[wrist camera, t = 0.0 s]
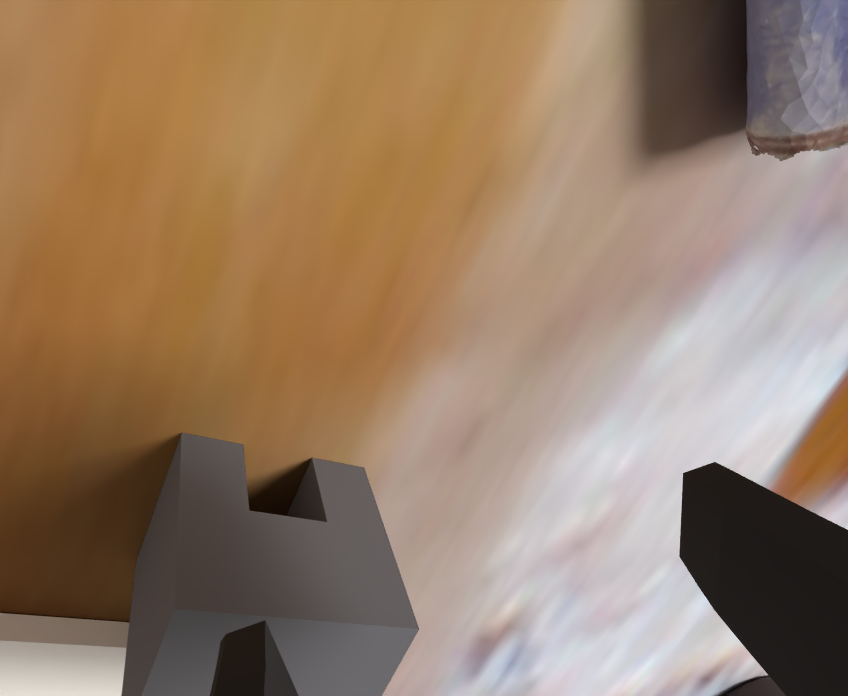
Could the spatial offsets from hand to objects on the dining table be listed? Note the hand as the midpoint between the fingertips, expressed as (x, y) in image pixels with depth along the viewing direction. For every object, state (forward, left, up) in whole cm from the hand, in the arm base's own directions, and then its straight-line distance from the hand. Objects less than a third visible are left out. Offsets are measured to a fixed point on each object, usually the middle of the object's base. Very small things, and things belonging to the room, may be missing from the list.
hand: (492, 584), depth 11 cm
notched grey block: (-5, +5, -10) cm, 12 cm away
